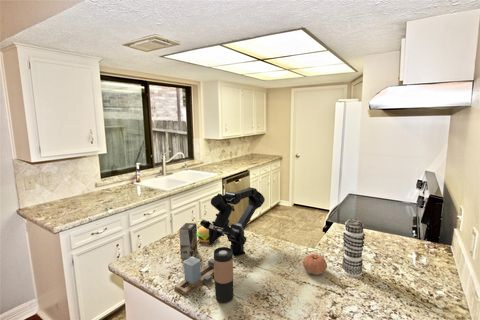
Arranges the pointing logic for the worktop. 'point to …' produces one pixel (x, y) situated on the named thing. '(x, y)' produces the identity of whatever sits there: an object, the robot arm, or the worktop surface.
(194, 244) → the coffee box
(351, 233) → the grey white banded cylinder
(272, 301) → the worktop surface
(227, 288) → the travel mug
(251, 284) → the worktop surface
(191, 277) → the block
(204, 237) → the hamburger
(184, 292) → the beam
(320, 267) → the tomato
